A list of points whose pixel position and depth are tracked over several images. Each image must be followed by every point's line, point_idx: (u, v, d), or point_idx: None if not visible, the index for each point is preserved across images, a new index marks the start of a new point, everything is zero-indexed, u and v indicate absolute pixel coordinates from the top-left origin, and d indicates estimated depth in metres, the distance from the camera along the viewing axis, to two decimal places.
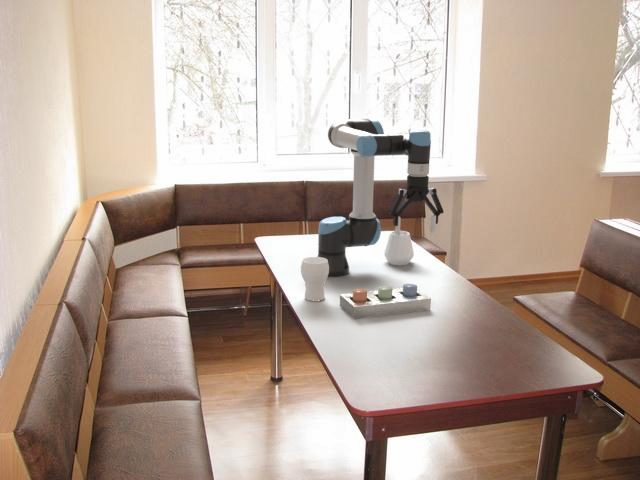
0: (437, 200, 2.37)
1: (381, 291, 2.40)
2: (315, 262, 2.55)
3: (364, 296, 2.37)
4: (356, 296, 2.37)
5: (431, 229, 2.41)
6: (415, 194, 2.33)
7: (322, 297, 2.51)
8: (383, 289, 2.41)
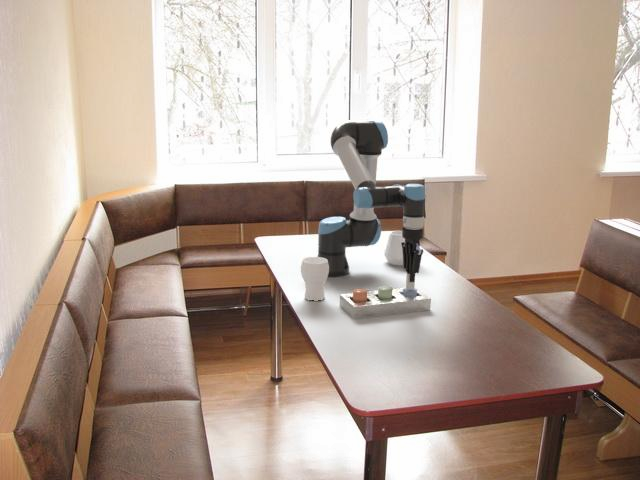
0: (414, 260, 2.38)
1: (381, 291, 2.40)
2: (315, 262, 2.55)
3: (364, 296, 2.37)
4: (356, 296, 2.37)
5: None
6: (405, 244, 2.42)
7: (322, 297, 2.51)
8: (383, 289, 2.41)
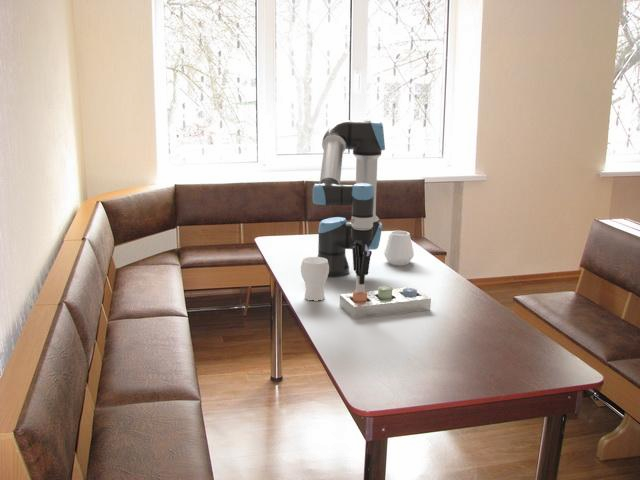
0: (362, 262, 2.31)
1: (381, 291, 2.40)
2: (315, 262, 2.55)
3: (364, 297, 2.37)
4: (356, 297, 2.37)
5: None
6: (354, 245, 2.35)
7: (322, 297, 2.51)
8: (383, 289, 2.41)
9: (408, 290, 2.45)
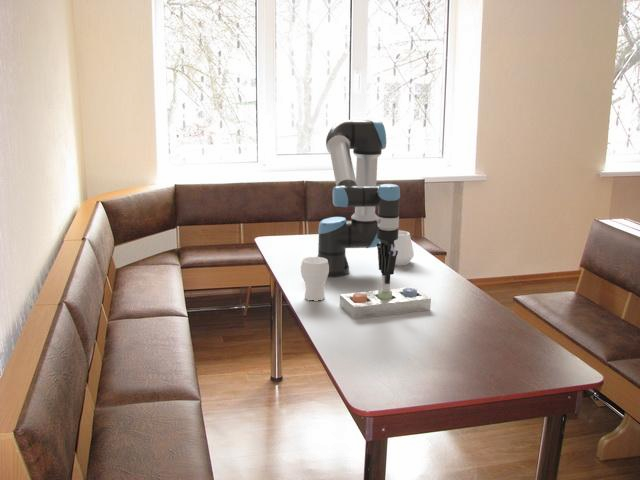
0: (388, 261, 2.35)
1: (381, 294, 2.40)
2: (315, 262, 2.55)
3: (364, 300, 2.37)
4: (356, 300, 2.37)
5: None
6: (380, 245, 2.38)
7: (322, 297, 2.51)
8: (383, 292, 2.41)
9: (408, 290, 2.45)
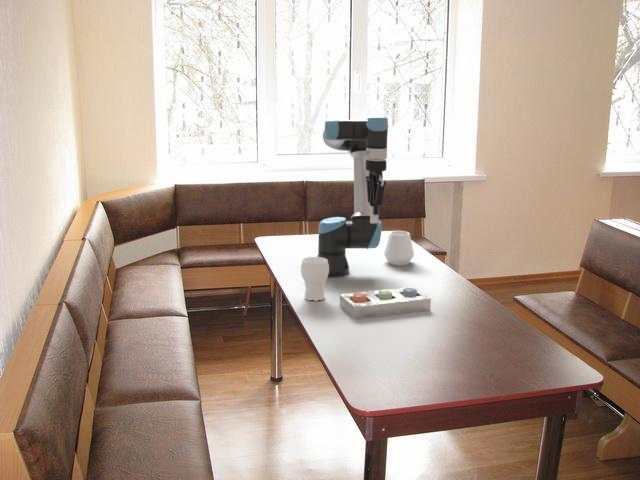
0: (377, 192, 2.40)
1: (381, 295, 2.40)
2: (315, 262, 2.55)
3: (364, 300, 2.37)
4: (356, 300, 2.37)
5: None
6: (369, 177, 2.44)
7: (322, 297, 2.51)
8: (383, 293, 2.41)
9: (408, 290, 2.45)
